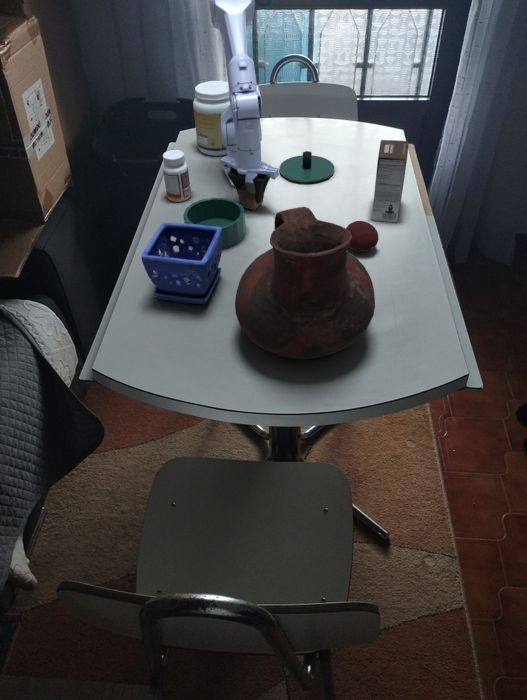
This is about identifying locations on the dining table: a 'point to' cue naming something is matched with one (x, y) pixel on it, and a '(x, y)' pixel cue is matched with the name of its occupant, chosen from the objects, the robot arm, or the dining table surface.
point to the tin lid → (306, 168)
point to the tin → (218, 218)
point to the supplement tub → (210, 115)
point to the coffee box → (389, 180)
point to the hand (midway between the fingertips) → (250, 199)
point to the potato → (362, 236)
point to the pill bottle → (176, 176)
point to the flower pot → (184, 262)
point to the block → (248, 196)
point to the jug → (305, 290)
